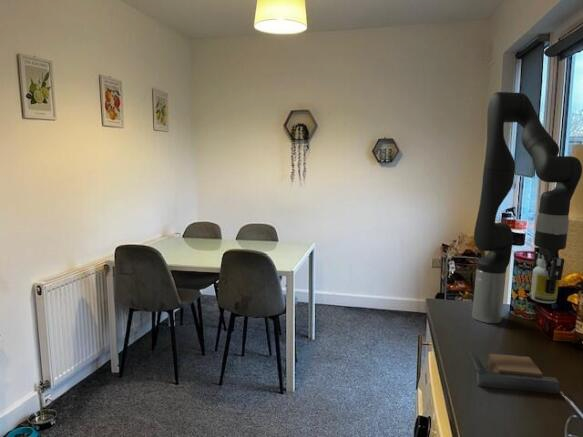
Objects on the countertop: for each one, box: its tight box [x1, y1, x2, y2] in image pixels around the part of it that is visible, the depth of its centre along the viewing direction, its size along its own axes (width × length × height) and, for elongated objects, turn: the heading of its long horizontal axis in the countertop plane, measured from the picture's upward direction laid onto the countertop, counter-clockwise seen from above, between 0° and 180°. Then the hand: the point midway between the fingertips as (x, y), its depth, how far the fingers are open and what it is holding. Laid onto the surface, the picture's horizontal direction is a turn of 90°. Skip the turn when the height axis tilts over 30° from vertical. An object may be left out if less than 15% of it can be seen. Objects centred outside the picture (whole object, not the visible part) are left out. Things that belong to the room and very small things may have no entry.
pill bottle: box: [529, 258, 560, 304], centre depth 122 cm, size 6×6×12 cm
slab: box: [487, 353, 544, 377], centre depth 112 cm, size 9×10×4 cm
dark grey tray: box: [469, 351, 560, 394], centre depth 114 cm, size 16×18×3 cm
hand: (544, 288), depth 122 cm, fingers closed on pill bottle, 6 cm apart
